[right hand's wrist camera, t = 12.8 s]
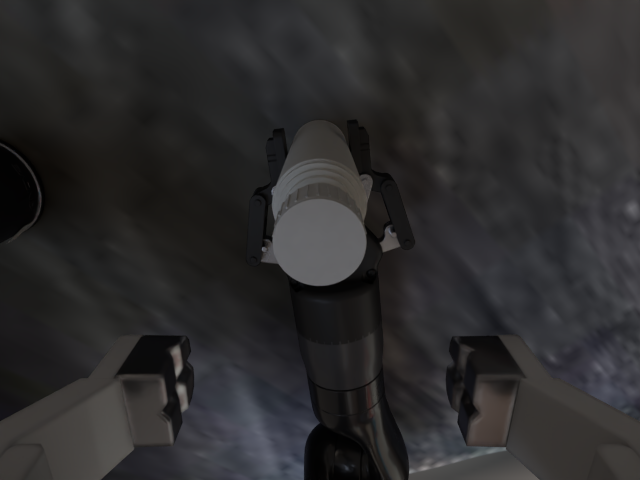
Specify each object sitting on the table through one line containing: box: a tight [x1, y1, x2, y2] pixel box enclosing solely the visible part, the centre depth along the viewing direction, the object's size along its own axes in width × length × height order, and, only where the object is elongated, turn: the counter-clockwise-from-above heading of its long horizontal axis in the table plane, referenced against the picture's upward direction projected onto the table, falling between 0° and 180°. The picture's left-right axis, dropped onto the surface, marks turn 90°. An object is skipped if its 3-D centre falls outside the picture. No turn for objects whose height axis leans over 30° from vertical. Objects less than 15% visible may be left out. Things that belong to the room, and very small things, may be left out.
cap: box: [272, 183, 367, 286], centre depth 18 cm, size 4×4×2 cm
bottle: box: [272, 120, 367, 221], centre depth 28 cm, size 5×5×23 cm
